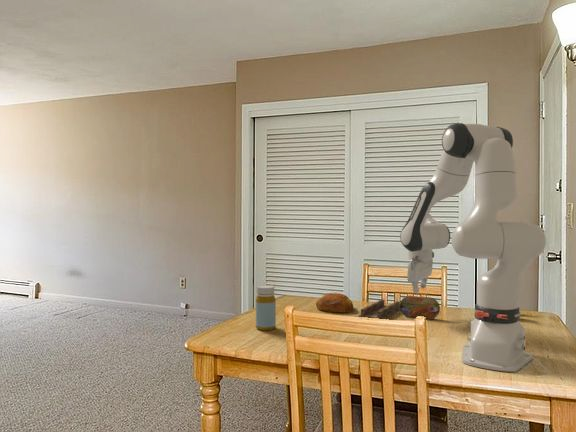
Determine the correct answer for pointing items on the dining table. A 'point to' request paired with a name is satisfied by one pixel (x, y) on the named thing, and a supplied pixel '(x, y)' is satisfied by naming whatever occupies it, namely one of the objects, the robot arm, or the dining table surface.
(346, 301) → the round bread loaf
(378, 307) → the rack
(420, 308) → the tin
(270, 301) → the bottle
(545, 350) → the dining table surface
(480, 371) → the dining table surface
